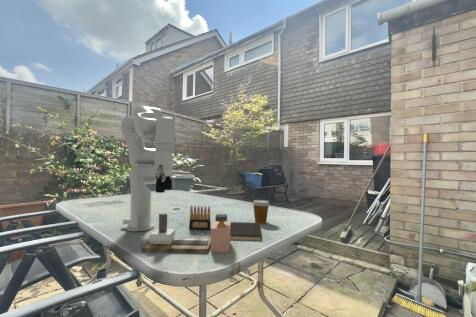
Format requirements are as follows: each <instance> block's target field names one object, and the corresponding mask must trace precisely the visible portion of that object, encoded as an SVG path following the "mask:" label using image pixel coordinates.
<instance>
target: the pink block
mask: <svg viewBox="0 0 476 317" xmlns="http://www.w3.org/2000/svg"><path fill="white" fill-rule="evenodd" d="M231 222H232V221H227V222H225V221H224V226H219V221H213V223H212V224H211V225H212V226H211V230H210V239H211V245H210V253H230V249H231V248H230V246H231V239H230V225H231Z"/></svg>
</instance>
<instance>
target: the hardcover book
mask: <svg viewBox="0 0 476 317" xmlns="http://www.w3.org/2000/svg"><path fill="white" fill-rule="evenodd" d="M230 222H231V225H230V240H235V241H236V240H238V241H239V240H240V241H261V238H262V231H261V224H260V223H256V222H243V221H242V222H241V221H240V222H239V221H238V222H237V221H230Z"/></svg>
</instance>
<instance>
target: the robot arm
mask: <svg viewBox="0 0 476 317" xmlns="http://www.w3.org/2000/svg"><path fill="white" fill-rule="evenodd" d="M120 126H121V127H120V129H121V133H122V135H123V139H124V141H125V142H126V145H127V151H128V156H129V157H128V158H129V161H130V163H131V165H132V167H130V169H129V170H128V171H129V172H128V177H129V178H128V179H129V183H130V184H129V185H130V214H129V216H130V218H129V219H122V225H127V226H126V231H128V232H136V233H137V232H138V233H139V232H146V231H150V230H153V229H154V226H155V224H154V223H151V218H152V216H151V215H152V214H151V213H152V191H151V189H150V188H149V187H148V186H147V185H152V184H153V185H155V193H156V194H159V193H165V192H166V191H165V190H172V189H173V177H172V175H173V171H174V165H173V164H174V160H173V157H174V156H173V153H175V143H176V142H175V141H176V140H175V139H176V138H175V131H176V122H175V120H174V119H173V117H167V116H164V114H163V111H162V110H161V109H160V108H157V107H152V106H151V107H150V106H143V105H142V106H141V105H139V106H136V107H135V108H134V109H133V110H132V116H126V117H124V118H123V119H122V120H121V123H120ZM142 136H143V137H152V138H153V137H154V141H155V142H154V148H147V147H146V146H145V141H144V139H143V138H142Z"/></svg>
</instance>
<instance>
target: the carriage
mask: <svg viewBox="0 0 476 317" xmlns="http://www.w3.org/2000/svg"><path fill="white" fill-rule="evenodd" d="M175 237H176V228H175V229H174V228H168V213H167V212H166V213H165V212H164V213H159V214H158V228H156V229H154V230H153V231H152V232H151V233H149V239H150V241H151V243H150V244H171V243H172V239H173V238H175Z"/></svg>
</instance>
